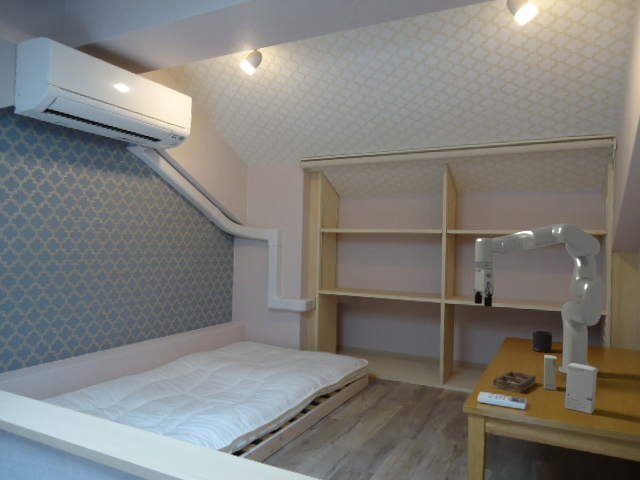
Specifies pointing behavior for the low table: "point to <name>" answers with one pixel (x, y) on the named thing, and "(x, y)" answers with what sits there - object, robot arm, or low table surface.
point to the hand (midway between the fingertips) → (483, 305)
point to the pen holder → (542, 341)
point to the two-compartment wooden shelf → (514, 381)
